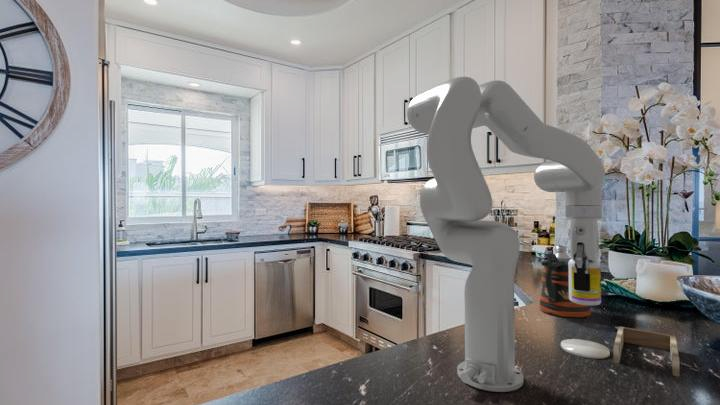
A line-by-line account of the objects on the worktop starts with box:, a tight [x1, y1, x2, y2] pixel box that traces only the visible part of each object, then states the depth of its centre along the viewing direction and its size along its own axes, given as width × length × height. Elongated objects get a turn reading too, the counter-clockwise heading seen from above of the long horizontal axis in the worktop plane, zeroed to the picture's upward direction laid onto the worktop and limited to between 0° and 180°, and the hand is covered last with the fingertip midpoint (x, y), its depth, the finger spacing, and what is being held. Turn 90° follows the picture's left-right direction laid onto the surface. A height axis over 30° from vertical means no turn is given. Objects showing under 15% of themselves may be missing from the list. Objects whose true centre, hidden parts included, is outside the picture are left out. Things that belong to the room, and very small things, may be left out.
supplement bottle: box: [568, 255, 602, 306], centre depth 88 cm, size 7×7×13 cm
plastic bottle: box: [554, 245, 571, 259], centre depth 132 cm, size 6×7×20 cm
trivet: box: [560, 338, 611, 360], centre depth 88 cm, size 10×10×1 cm
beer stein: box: [538, 252, 592, 319], centre depth 118 cm, size 19×15×20 cm
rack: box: [612, 326, 680, 377], centre depth 84 cm, size 17×11×4 cm, turn 141°
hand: (584, 286), depth 88 cm, fingers closed on supplement bottle, 6 cm apart
